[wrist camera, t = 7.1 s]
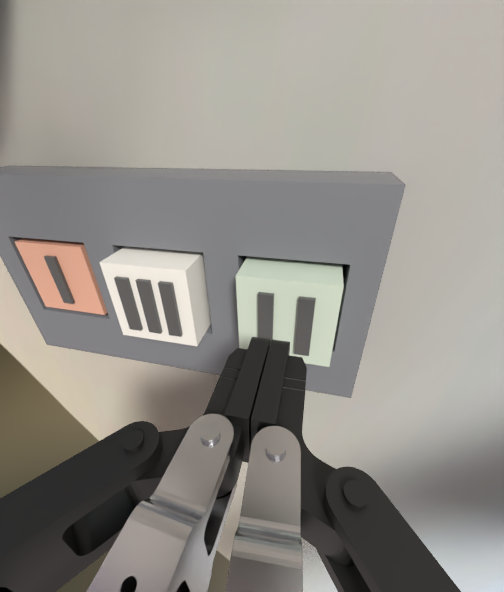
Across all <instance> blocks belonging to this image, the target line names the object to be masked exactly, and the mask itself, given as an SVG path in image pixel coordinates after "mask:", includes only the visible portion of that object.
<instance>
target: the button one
mask: <svg viewBox="0 0 504 592" xmlns="http://www.w3.org/2000/svg"><path fill="white" fill-rule="evenodd" d="M15 244H16V246H17V248H18V250H19V252H20V254H21V256H22V258H23V260H24V263H25V265H26V267H27V269H28V271H29V273H30V275H31V277H32V279H33V281H34V283H35V285H36V287H37V289H38V291H39V294H40V296H41V298H42V300H43V302H44V304H45V306H46V307H52V308H59V309H66V310H73V311H80V312H88V313H95V314H102V315H105V314H106V313H108V312H107V309H106V306H105V303H104V300H103V298H102V295H101V292H100V289H99V286H98V283H97V280H96V278H95V275H94V272H93V269H92V266H91V263H90V260H89V258H88V255H87V252H86V249H85V246H84V243H81V242H69V241H57V240H45V239H33V238H23V239H20V240H18V241H15Z"/></svg>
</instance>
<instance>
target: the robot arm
mask: <svg viewBox="0 0 504 592" xmlns="http://www.w3.org/2000/svg"><path fill="white" fill-rule="evenodd" d="M289 353H290V342H288V341H280V340H273V339H272V340H271V339H265V338H258V337H252V338H251V341H250V344H249V346H248V349H242V348H237V349H236V350H235V351H234V352H232V353H231V354H230V355H229V356H228V359H227V361H226V363H225V366H224V369H223V371H222V373H221V375H220V378H219V380H218V382H217V385H216V387H215V390H214V392H213V394H212V397H211V399H210V401H209V404H208V406H207V409H206V411H205V413H204V414H203V416H201V417H199V418H198V419H196V420H195V421H194V422H193V423H192V424H191V426H189V427H187V428H184V429H180V430H173V431H164V432H158V430H157V428H156V427H155V426H154V425H153V424H151V423H149V422H145V421H140V422H134V423H131V424H129V425H127V426H125V427H123V428H122V429H120V430H118V431H116V432H115V433H113V434H111V435H110V436H108V437H106V438H104V439H103V440H101V441H99V442H97V443H96V444H94V445H92V446H91V447H89V448H87V449H85V450H84V451H82V452H80V453H78V454H77V455H75V456H73V457H71V458H70V459H68V460H66V461H64V462H63V463H61V464H59V465H58V466H56V467H54V468H52V469H51V470H49V471H47V472H45V473H44V474H42V475H40V476H38V477H37V478H35V479H33V480H32V481H30V482H28V483H26V484H25V485H23V486H21V487H19V488H18V489H16V490H14V491H13V492H11V493H9V494H7V495H6V496H4V497H2V498H0V592H56V591H57V590H58V589H60V588H61V587H62V586H63V585H65V584H66V583H67V582H69V581H70V580H71V579H72V578H74V577H75V576H76V575H78V574H79V573H80V572H81V571H83V570H84V569H85V568H87V567H88V566H89V565H90V564H92V563H93V562H94V561H95V560H97V559H98V558H99V557H100V556H102V555H103V554H104V553H106V552H107V551H108V550H109V549H111V550H110V552H109V553H108V555H107V557H106V559H105V560H104V562H103V564H102V566H101V568H100V569H99V571H98V573H97V574H96V576H95V578H94V580H93V581H92V583H91V585H90V587H89V588H88V590H87V592H207V590H208V586H209V582H210V577H211V572H212V565H213V560H214V556H215V553H216V549H217V546H218V543H219V540H220V537H221V534H222V531H223V528H224V525H225V521H226V518H227V515H228V512H229V509H230V506H231V503H232V500H233V497H234V493H235V490H236V487H237V480H238V476H239V472H240V468H241V464H242V461H243V462H248V469H247V476H246V482H245V489H244V495H243V501H242V508H241V514H240V520H239V525H238V529H237V531H236V534H235V538H234V542H233V547H232V553H231V559H230V565H229V572H228V578H227V584H226V590H225V592H303V555H302V542H301V537H302V538H303V539H305V540H306V541H307V542H309V543H310V544H312V545H313V546H314V547H316V549H317V551H318V553H319V555H320V557H321V559H322V561H323V563H324V565H325V567H326V569H327V571H328V573H329V575H330V577H331V579H332V581H333V583H334V585H335V586H336V588H337V590H338V592H461V591H460V590H459V589H458V587H457V586H456V585H455V584H454V582H453V581H452V580H451V578H450V577H449V576H448V575H447V573H446V572H445V571H444V569H443V568H442V567H441V566H440V564H439V563H438V562H437V560H436V559H435V558H434V557H433V555H432V554H431V553H430V551H429V550H428V549H427V548H426V546H425V545H424V544H423V542H422V541H421V540H420V539H419V537H418V536H417V535H416V533H415V532H414V531H413V530H412V528H411V527H410V526H409V524H408V523H407V522H406V521H405V519H404V518H403V517H402V515H401V514H400V513H399V512H398V510H397V509H396V508H395V506H394V505H393V504H392V503H391V501H390V500H389V499H388V497H387V496H386V495H385V494H384V492H383V491H382V490H381V488H380V487H379V486H378V485H377V483H376V482H375V481H374V480H373V479H372V478H371V477H370V476H369V475H368V474H366V473H365V472H363V471H361V470H359V469H357V468H353V467H341V468H338V469H335V468H333V467H331V466H329V465H328V464H326V463H324V462H322V461H321V460H319V459H318V458H316V457H315V456H314V455H313V454H312V453H311V452H310V451H309V450H308V448H307V447H306V445H305V443H304V440H303V436H302V423H303V411H304V399H305V387H306V374H307V367H306V365H305V363H304V360H303V358H302V357H296V356H290V355H289Z"/></svg>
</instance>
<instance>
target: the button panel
mask: <svg viewBox="0 0 504 592" xmlns="http://www.w3.org/2000/svg"><path fill="white" fill-rule="evenodd" d="M404 188H405V184H404V183H403V182H402V181H401V180H400V179H398V178H397V177H396V176H395V175H394V174H393V173H392V172H347V171H288V170H229V169H170V168H111V167H52V166H5V167H0V256H1V258H2V260H3V262H4V264H5V266H6V268H7V270H8V271H9V273H10V275H11V277H12V279H13V281H14V283H15V285H16V287H17V289H18V290H19V292H20V294H21V296H22V298H23V300H24V302H25V304H26V306H27V308H28V309H29V311H30V313H31V315H32V317H33V319H34V321H35V323H36V325H37V327H38V328H39V330H40V332H41V334H42V336H43V338H44V340H45V342H46V344H47V345H52V346H58V347H64V348H69V349H75V350H81V351H86V352H92V353H98V354H103V355H109V356H115V357H120V358H126V359H132V360H137V361H143V362H149V363H155V364H160V365H166V366H172V367H177V368H183V369H189V370H194V371H200V372H206V373H211V374H217V375H221V373H222V371H223V369H224V366H225V363H226V361H227V359H228V356H229V355H230V354H231V353H232V352H234V351H235V350H236V349H237V348H239V331H238V312H237V293H236V274H237V273H238V271H239V269H240V268H241V266H242V264H243V263H244V261H245V260H246V258H247V256H251V257H264V258H276V259H288V260H300V261H312V262H324V263H336V264H343V283H344V288H343V293H342V299H341V304H340V310H339V316H338V321H337V327H336V332H335V338H334V344H333V349H332V355H331V360H330V366H329V367H326V366H319V365H313V364H307V363H305V365H306V367H307V374H306V387H305V390H308V391H314V392H319V393H325V394H331V395H337V396H342V397H348V398H351V396H352V392H353V388H354V384H355V380H356V376H357V372H358V368H359V364H360V360H361V357H362V353H363V349H364V345H365V341H366V337H367V333H368V329H369V325H370V321H371V317H372V313H373V310H374V306H375V302H376V298H377V294H378V290H379V286H380V282H381V278H382V274H383V270H384V267H385V263H386V259H387V255H388V251H389V247H390V243H391V239H392V235H393V231H394V227H395V223H396V220H397V216H398V212H399V208H400V204H401V200H402V196H403V192H404ZM23 238H33V239H45V240H57V241H69V242H81V243H84V246H85V249H86V252H87V255H88V258H89V260H90V263H91V266H92V269H93V272H94V275H95V278H96V280H97V283H98V286H99V289H100V292H101V295H102V298H103V300H104V303H105V306H106V309H107V312H108V313H106V314H105V315H102V314H95V313H88V312H80V311H73V310H66V309H59V308H52V307H46V306H45V304H44V302H43V300H42V298H41V296H40V294H39V291H38V289H37V287H36V285H35V283H34V281H33V279H32V277H31V275H30V273H29V271H28V269H27V267H26V265H25V263H24V260H23V258H22V256H21V254H20V252H19V250H18V248H17V246H16V244H15V241H18V240H20V239H23ZM125 246H130V247H142V248H154V249H166V250H178V251H191V252H203V256H204V264H205V273H206V282H207V290H208V299H209V308H210V316H211V324H210V326H209V328H208V329H207V331H206V333H205V334H204V336H203V338H202V339H201V341H200V343H199V344H198V346H192V345H185V344H179V343H172V342H166V341H160V340H153V339H147V338H140V337H134V336H128V335H123V332H122V329H121V326H120V323H119V320H118V317H117V314H116V311H115V308H114V305H113V302H112V299H111V296H110V293H109V290H108V287H107V284H106V281H105V278H104V275H103V272H102V269H101V266H100V263H99V262H101V261H102V260H104V259H106V258H107V257H109V256H110V255H112V254H114V253H115V252H117V251H119V250H120V249H122V248H124V247H125Z"/></svg>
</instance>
